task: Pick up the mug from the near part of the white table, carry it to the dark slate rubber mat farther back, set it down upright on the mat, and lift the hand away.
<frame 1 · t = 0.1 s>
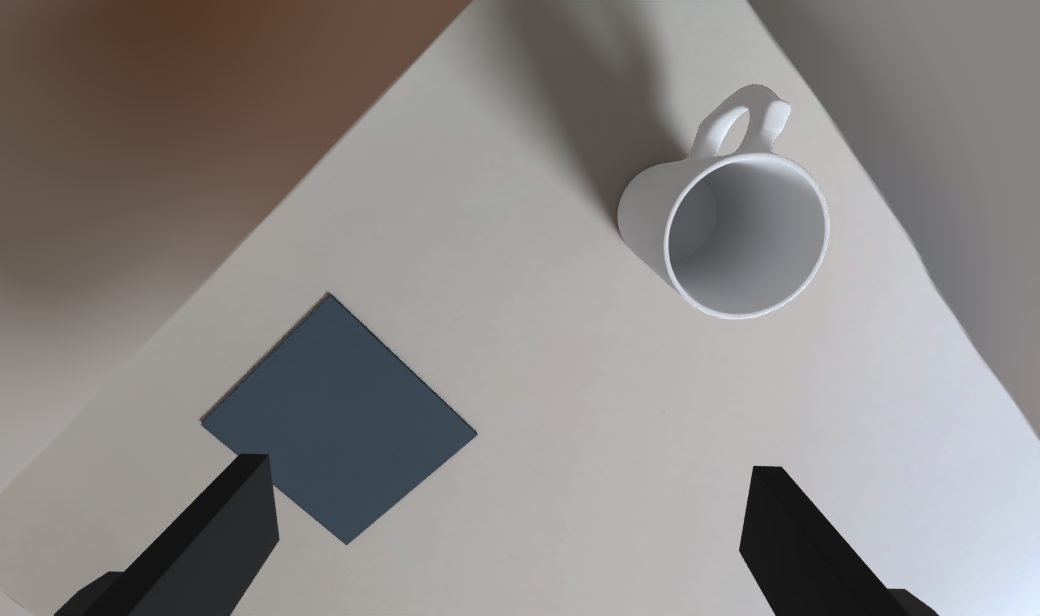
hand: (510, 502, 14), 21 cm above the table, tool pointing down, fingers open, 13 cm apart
mug: (673, 188, 32), on the table
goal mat: (340, 428, 36), on the table
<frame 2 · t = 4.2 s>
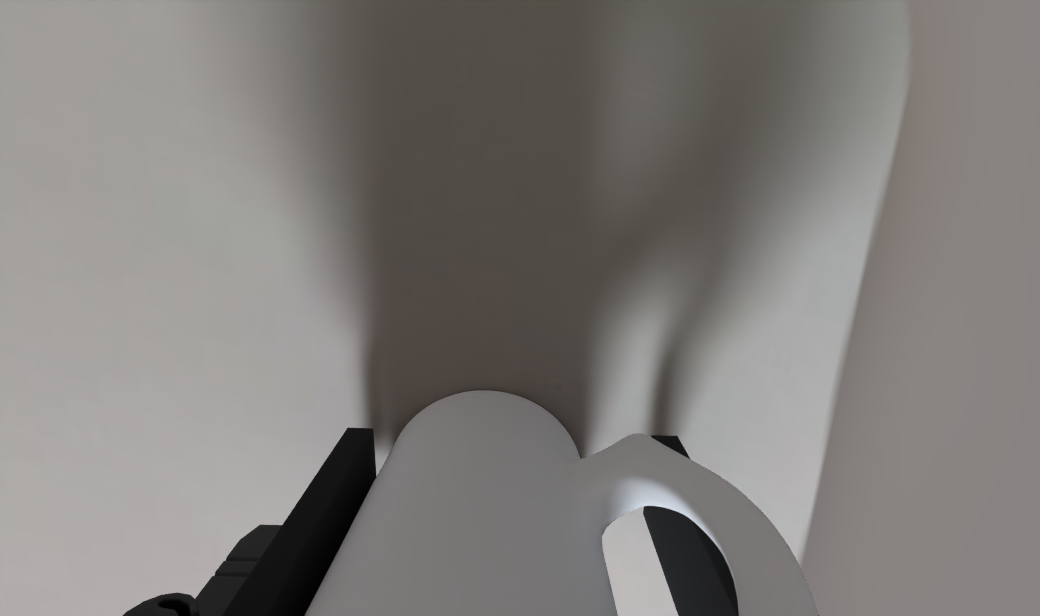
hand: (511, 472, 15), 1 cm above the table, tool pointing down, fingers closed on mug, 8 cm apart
mug: (528, 448, 16), on the table, touching gripper
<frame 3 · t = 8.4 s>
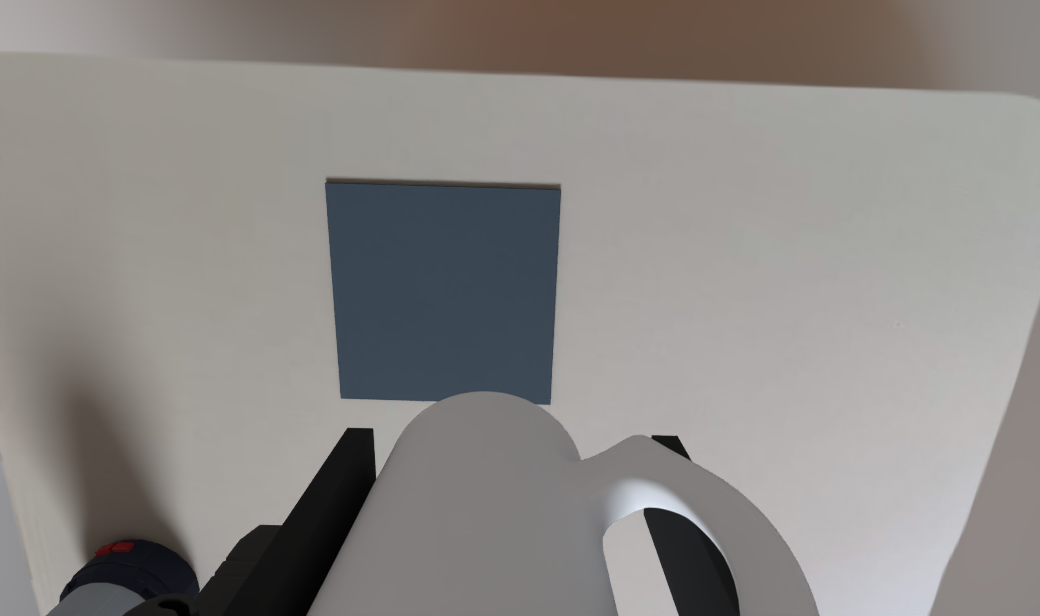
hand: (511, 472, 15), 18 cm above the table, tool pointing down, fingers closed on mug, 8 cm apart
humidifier: (146, 582, 38), on the table
mug: (528, 449, 16), point 16 cm above the table, touching gripper
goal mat: (444, 299, 32), on the table
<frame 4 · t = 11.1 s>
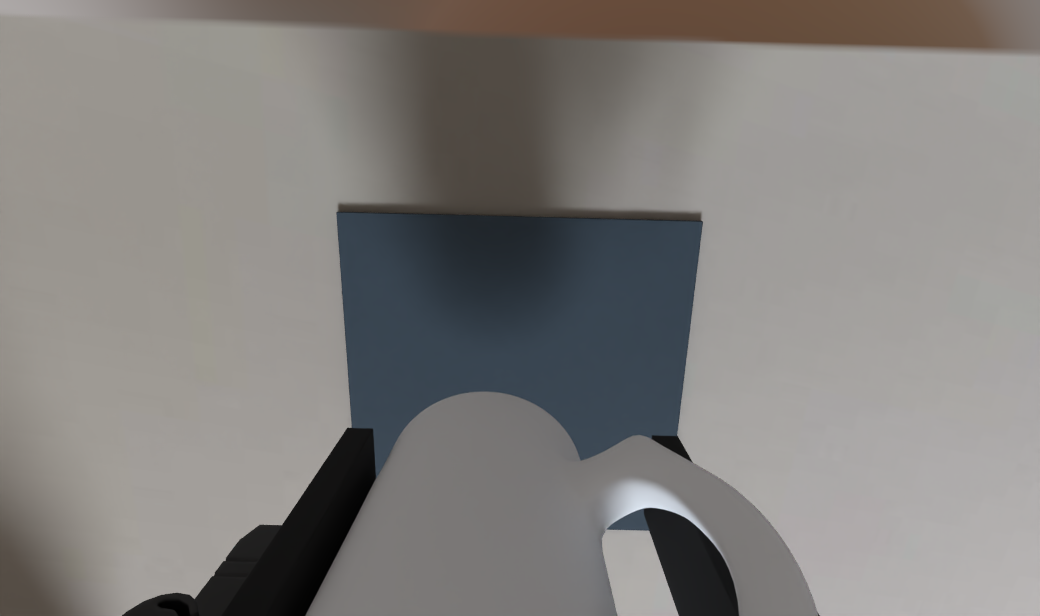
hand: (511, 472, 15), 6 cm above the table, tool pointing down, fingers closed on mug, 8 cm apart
mug: (528, 450, 16), point 5 cm above the table, touching gripper
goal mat: (515, 383, 21), on the table
when the fingers open (1 cm above the table, at t = 12.9 s): mug stays where it is, resting on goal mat.
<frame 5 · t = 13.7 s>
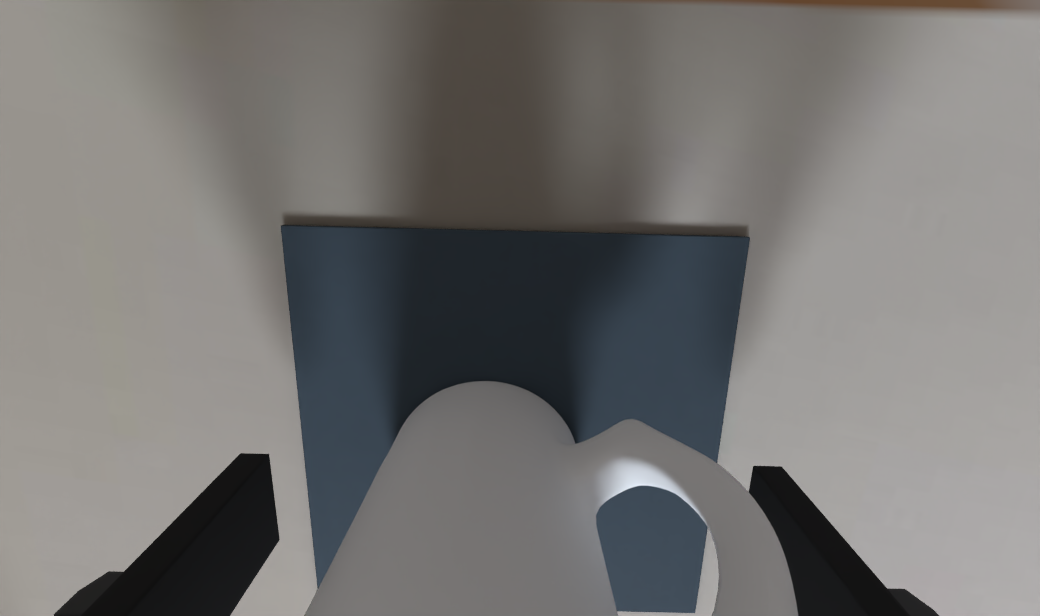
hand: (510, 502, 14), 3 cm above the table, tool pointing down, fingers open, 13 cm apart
mug: (526, 437, 17), resting on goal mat
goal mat: (511, 438, 17), on the table
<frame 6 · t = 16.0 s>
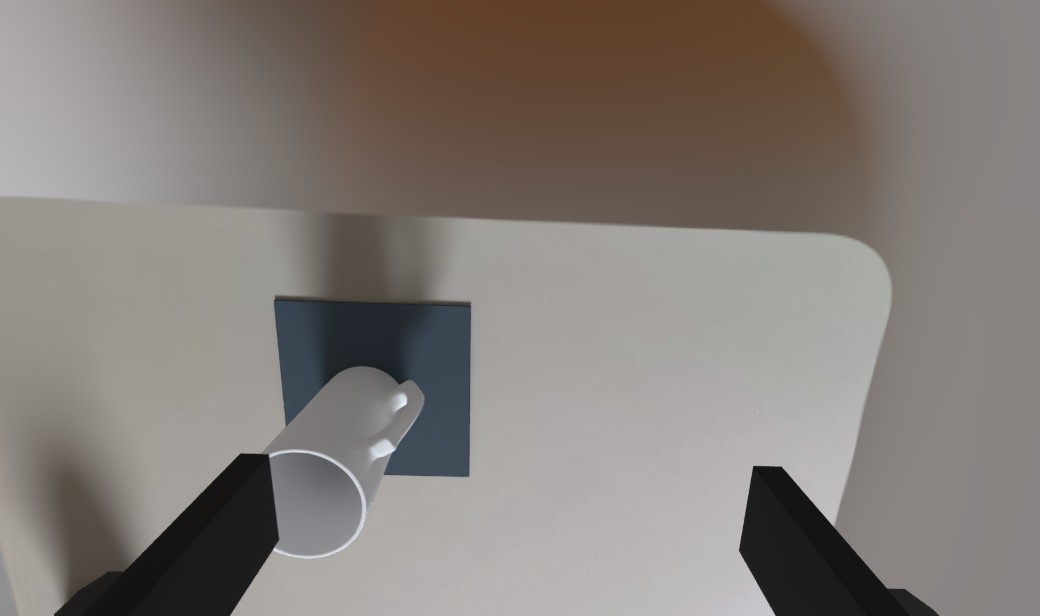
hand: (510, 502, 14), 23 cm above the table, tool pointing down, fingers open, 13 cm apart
mug: (383, 391, 38), resting on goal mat
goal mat: (377, 392, 38), on the table
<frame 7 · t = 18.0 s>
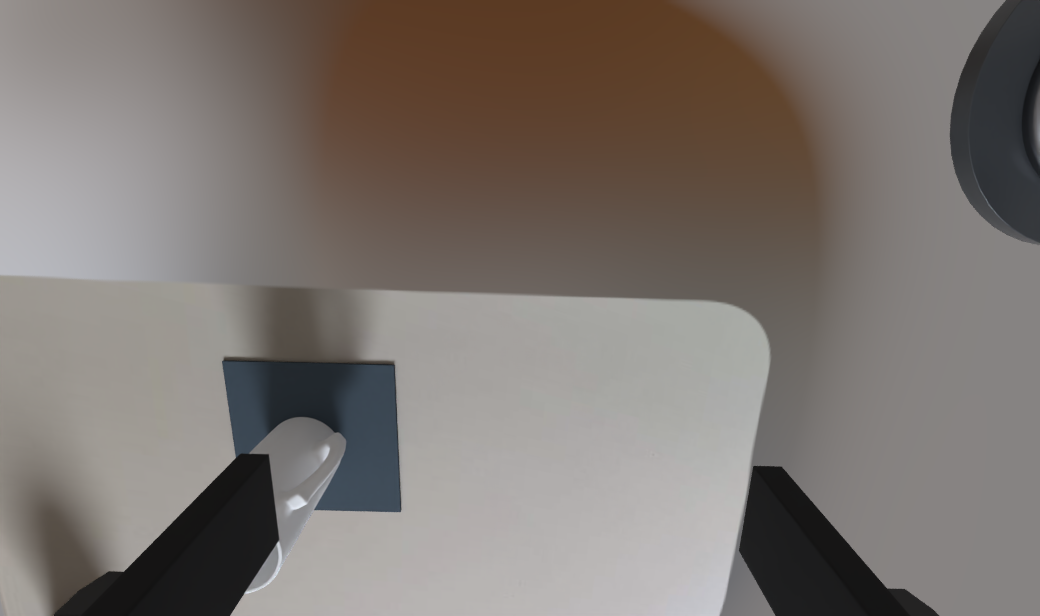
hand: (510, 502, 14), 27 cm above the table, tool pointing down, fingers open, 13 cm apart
mug: (322, 438, 43), resting on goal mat
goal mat: (316, 438, 43), on the table
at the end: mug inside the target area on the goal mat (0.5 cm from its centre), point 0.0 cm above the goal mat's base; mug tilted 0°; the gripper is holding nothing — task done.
